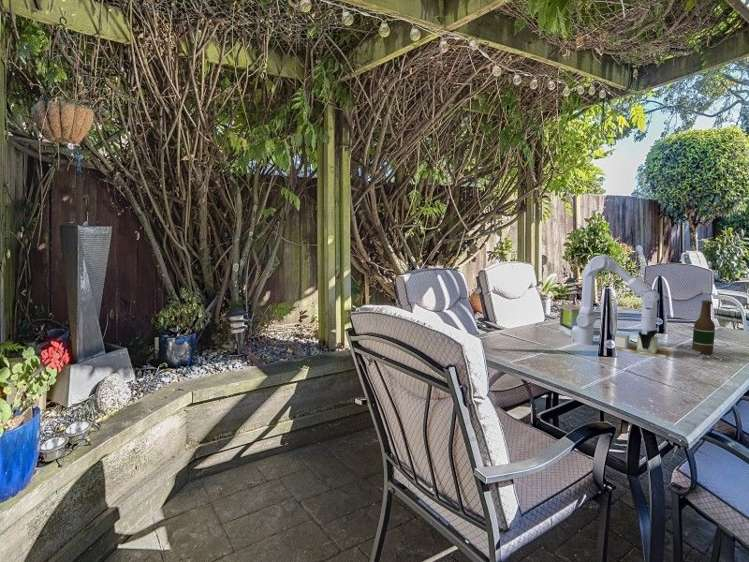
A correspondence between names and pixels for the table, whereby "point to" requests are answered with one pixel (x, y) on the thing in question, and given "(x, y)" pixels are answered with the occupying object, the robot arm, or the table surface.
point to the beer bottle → (704, 330)
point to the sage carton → (652, 345)
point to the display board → (660, 352)
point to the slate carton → (622, 341)
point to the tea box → (568, 318)
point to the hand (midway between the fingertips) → (646, 347)
